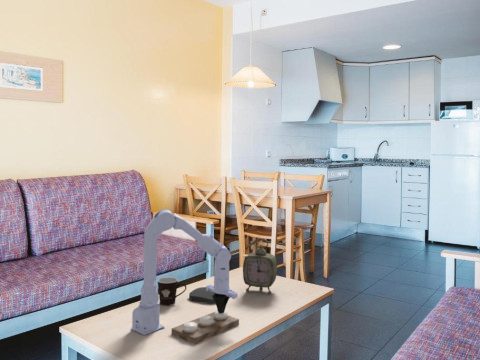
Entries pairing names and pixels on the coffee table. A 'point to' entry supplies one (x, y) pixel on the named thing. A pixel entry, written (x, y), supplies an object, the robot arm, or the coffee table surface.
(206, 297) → the media streaming box
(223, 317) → the knob far
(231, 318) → the brown wooden board
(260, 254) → the tabletop clock
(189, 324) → the knob near
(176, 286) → the coffee mug
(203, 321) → the knob middle
